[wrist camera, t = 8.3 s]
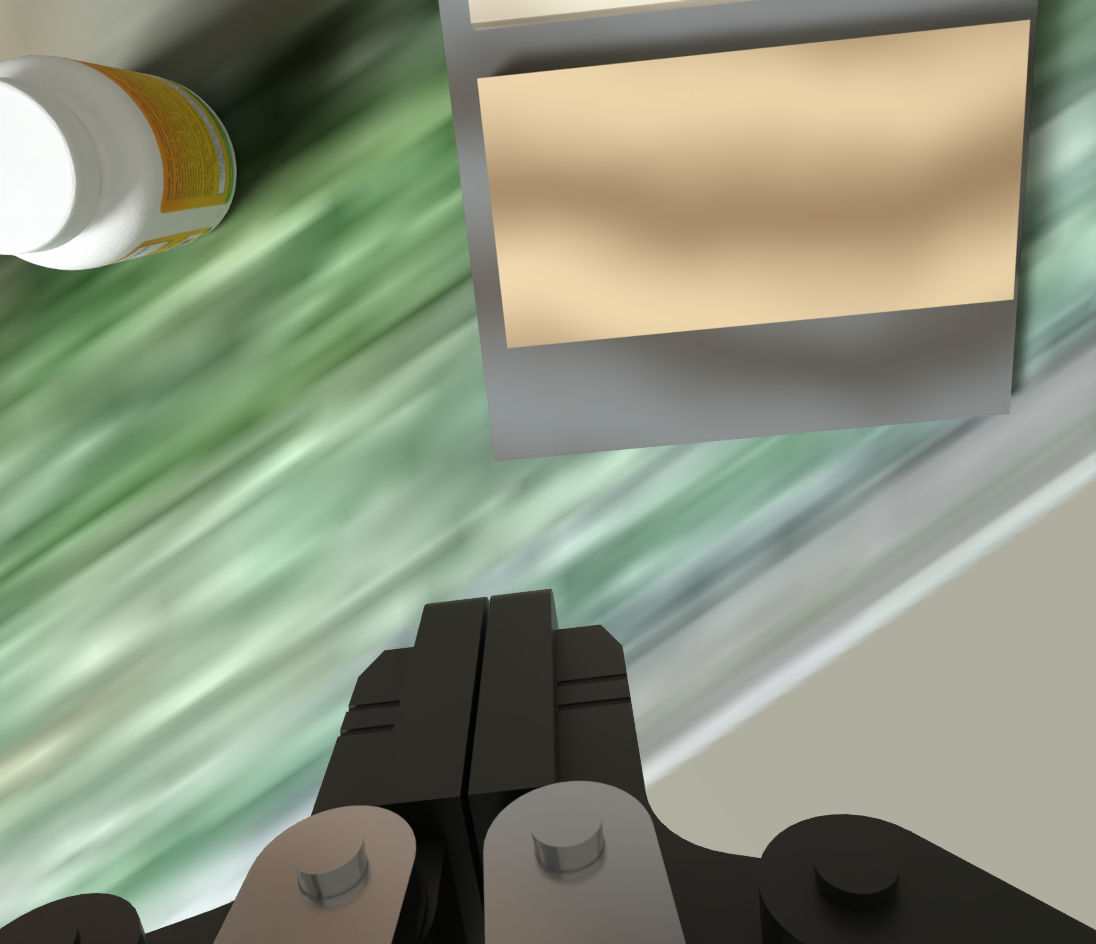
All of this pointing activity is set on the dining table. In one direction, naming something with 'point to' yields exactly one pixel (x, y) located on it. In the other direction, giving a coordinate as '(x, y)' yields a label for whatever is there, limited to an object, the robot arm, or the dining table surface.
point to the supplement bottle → (105, 163)
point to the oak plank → (757, 184)
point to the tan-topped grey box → (729, 352)
